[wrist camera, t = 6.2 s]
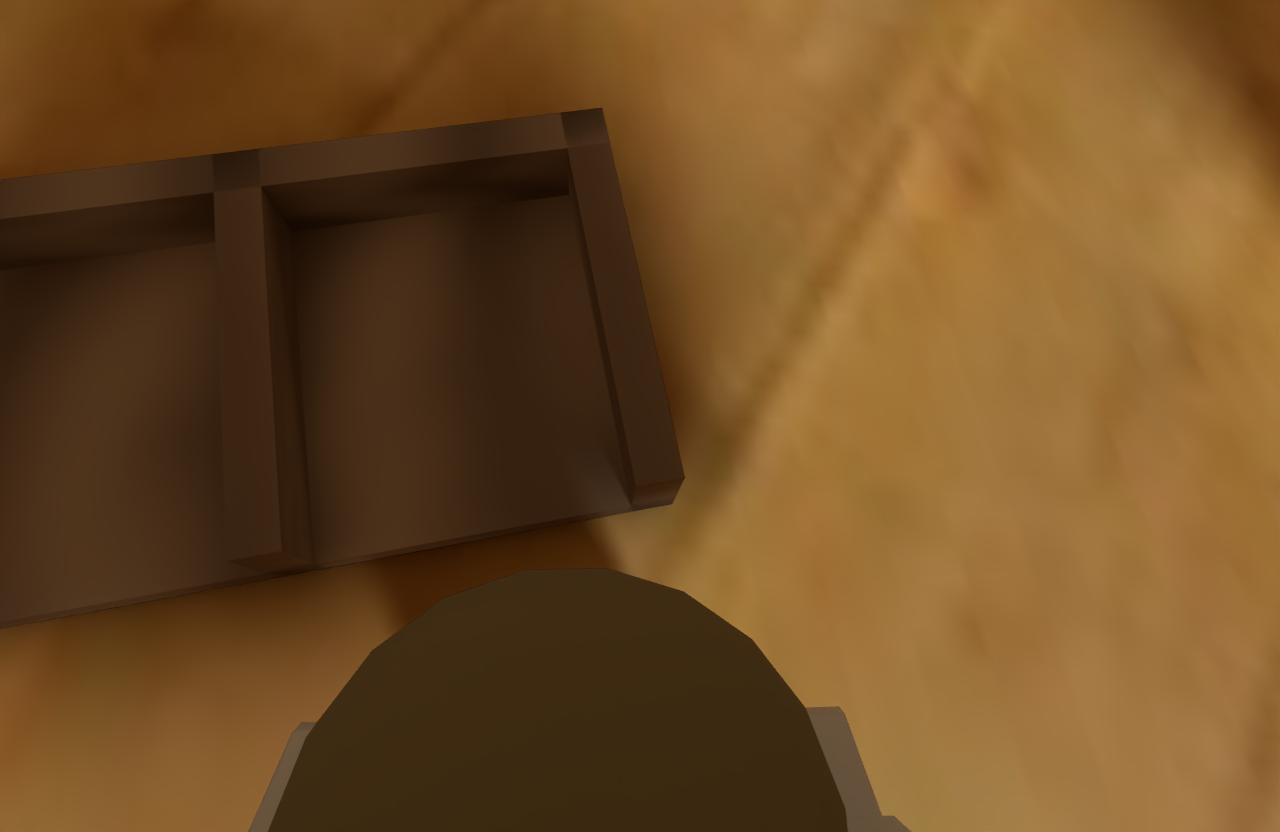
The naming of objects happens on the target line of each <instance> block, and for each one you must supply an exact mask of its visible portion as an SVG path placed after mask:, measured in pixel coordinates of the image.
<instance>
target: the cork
mask: <svg viewBox="0 0 1280 832" xmlns="http://www.w3.org/2000/svg"><path fill="white" fill-rule="evenodd" d="M268 832H848V828H847V818H846V809H845V806H844V804H843V801H842V799H841V796H840V793H839V791H838V788H837V786H836V783H835V781H834V778H833V776H832V773H831V771H830V768H829V766H828V763H827V761H826V758H825V755H824V753H823V750H822V748H821V745H820V743H819V740H818V738H817V735H816V733H815V730H814V728H813V725H812V722H811V720H810V717H809V715H808V712H807V710H806V708H805V707H804V705H803V704H802V703H801V702H800V700H799V699H798V698H797V696H796V695H795V694H794V693H793V691H792V690H791V689H790V687H789V686H788V685H787V684H786V682H785V681H784V680H783V678H782V677H781V676H780V675H779V673H778V672H777V671H776V669H775V668H774V667H773V666H772V664H771V663H770V662H769V660H768V659H767V658H766V657H765V655H764V654H763V653H762V651H761V650H760V649H759V648H758V646H757V645H756V644H755V642H754V641H753V640H752V639H751V638H749V637H748V636H747V635H745V634H744V633H742V632H741V631H739V630H738V629H737V628H735V627H734V626H732V625H731V624H729V623H728V622H727V621H725V620H724V619H722V618H721V617H719V616H718V615H717V614H715V613H714V612H712V611H711V610H709V609H708V608H707V607H705V606H704V605H702V604H701V603H699V602H698V601H696V600H695V599H694V598H692V597H691V596H689V595H688V594H686V593H685V592H683V591H680V590H677V589H674V588H670V587H667V586H664V585H660V584H657V583H654V582H651V581H647V580H644V579H641V578H637V577H634V576H631V575H628V574H624V573H621V572H618V571H614V570H611V569H608V568H582V569H536V570H523V571H520V572H517V573H514V574H511V575H508V576H505V577H502V578H500V579H497V580H494V581H491V582H488V583H485V584H482V585H479V586H476V587H474V588H471V589H468V590H465V591H462V592H459V593H456V594H453V595H450V596H447V597H445V598H443V599H442V600H441V601H439V602H438V603H437V604H435V605H434V606H432V607H431V608H430V609H428V610H427V611H426V612H424V613H423V614H422V615H420V616H419V617H417V618H416V619H415V620H413V621H412V622H411V623H409V624H408V625H406V626H405V627H404V628H402V629H401V630H400V631H398V632H397V633H395V634H394V635H393V636H391V637H390V638H389V639H387V640H386V641H385V642H383V643H382V644H380V645H379V646H378V647H376V648H375V649H374V650H372V652H371V653H370V654H369V656H368V657H367V658H366V659H365V661H364V662H363V663H362V665H361V666H360V667H359V669H358V670H357V671H356V672H355V674H354V675H353V676H352V678H351V679H350V680H349V681H348V683H347V684H346V685H345V687H344V688H343V689H342V691H341V692H340V693H339V694H338V696H337V697H336V698H335V700H334V701H333V702H332V704H331V705H330V706H329V707H328V709H327V710H326V711H325V713H324V714H323V715H322V716H321V718H320V719H319V720H318V722H317V723H316V724H315V726H314V727H313V728H312V730H311V731H310V732H309V734H308V735H307V736H306V738H305V741H304V743H303V746H302V748H301V751H300V753H299V755H298V758H297V760H296V763H295V765H294V768H293V770H292V773H291V775H290V778H289V780H288V783H287V785H286V788H285V790H284V793H283V795H282V798H281V800H280V803H279V805H278V807H277V810H276V812H275V815H274V817H273V820H272V822H271V825H270V827H269V830H268Z"/></svg>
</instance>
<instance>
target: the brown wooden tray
mask: <svg viewBox="0 0 1280 832" xmlns="http://www.w3.org/2000/svg"><path fill="white" fill-rule="evenodd" d="M684 478H685V477H684V472H683V468H682V463H681V459H680V454H679V450H678V445H677V441H676V436H675V432H674V427H673V423H672V418H671V414H670V410H669V405H668V401H667V396H666V392H665V387H664V383H663V378H662V374H661V369H660V365H659V360H658V356H657V351H656V347H655V343H654V338H653V334H652V329H651V325H650V320H649V316H648V311H647V307H646V302H645V298H644V293H643V289H642V284H641V280H640V276H639V271H638V267H637V262H636V258H635V253H634V249H633V244H632V240H631V235H630V231H629V226H628V222H627V217H626V213H625V208H624V204H623V200H622V195H621V191H620V186H619V182H618V177H617V173H616V168H615V164H614V159H613V155H612V150H611V146H610V141H609V137H608V133H607V128H606V124H605V119H604V115H603V110H602V108H596V109H588V110H579V111H571V112H563V113H554V114H546V115H538V116H529V117H521V118H513V119H504V120H496V121H488V122H479V123H471V124H462V125H454V126H446V127H437V128H429V129H421V130H412V131H404V132H396V133H387V134H379V135H371V136H362V137H354V138H346V139H337V140H329V141H320V142H312V143H304V144H295V145H287V146H279V147H270V148H262V149H254V150H245V151H237V152H229V153H220V154H212V155H204V156H195V157H187V158H178V159H170V160H162V161H153V162H145V163H137V164H128V165H120V166H112V167H103V168H95V169H87V170H78V171H70V172H62V173H53V174H45V175H36V176H28V177H20V178H11V179H3V180H0V629H1V628H6V627H12V626H17V625H22V624H28V623H33V622H39V621H44V620H49V619H55V618H60V617H66V616H71V615H76V614H82V613H87V612H93V611H98V610H103V609H109V608H114V607H119V606H125V605H130V604H136V603H141V602H146V601H152V600H157V599H163V598H168V597H173V596H179V595H184V594H189V593H195V592H200V591H206V590H211V589H216V588H222V587H227V586H233V585H238V584H243V583H249V582H254V581H260V580H265V579H270V578H276V577H281V576H286V575H292V574H297V573H303V572H308V571H313V570H319V569H324V568H330V567H335V566H340V565H346V564H351V563H357V562H362V561H367V560H373V559H378V558H383V557H389V556H394V555H400V554H405V553H410V552H416V551H421V550H427V549H432V548H437V547H443V546H448V545H453V544H459V543H464V542H470V541H475V540H480V539H486V538H491V537H497V536H502V535H507V534H513V533H518V532H524V531H529V530H534V529H540V528H545V527H550V526H556V525H561V524H567V523H572V522H577V521H583V520H588V519H594V518H599V517H604V516H610V515H615V514H620V513H626V512H631V511H637V510H642V509H647V508H653V507H658V506H664V505H669V504H672V503H673V501H674V499H675V497H676V495H677V493H678V491H679V488H680V486H681V484H682V482H683V480H684Z"/></svg>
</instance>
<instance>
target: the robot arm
mask: <svg viewBox="0 0 1280 832" xmlns="http://www.w3.org/2000/svg"><path fill="white" fill-rule="evenodd" d="M806 710H807V712H808V715H809V717H810V720H811V722H812V725H813V728H814V730H815V733H816V735H817V738H818V740H819V743H820V745H821V748H822V750H823V753H824V755H825V758H826V761H827V763H828V766H829V768H830V771H831V773H832V776H833V778H834V781H835V783H836V786H837V788H838V791H839V793H840V796H841V799H842V801H843V804H844V806H845V809H846V818H847V828H848V832H911V831H910V830H909V829H908V828H907V827H906V826H904V825H903V824H902V823H901V822H900V821H899V820H898V819H897V818H896V817H895V816H882V814H881V811H880V809H879V806H878V803H877V800H876V798H875V795H874V792H873V790H872V787H871V784H870V781H869V779H868V776H867V773H866V770H865V768H864V765H863V762H862V759H861V757H860V754H859V751H858V749H857V746H856V743H855V740H854V738H853V735H852V732H851V729H850V727H849V724H848V721H847V719H846V716H845V713H844V712H843V711H842V710H841V708H840V707H813V708H806ZM316 723H317V722H302V723H301V724H300V725H299V726H298V727H297V728H296V729H295V730H294V732H293V733H292V734H291V736H290V739H289V741H288V743H287V745H286V748H285V750H284V752H283V754H282V757H281V759H280V761H279V764H278V766H277V768H276V770H275V773H274V775H273V777H272V779H271V782H270V784H269V786H268V788H267V791H266V793H265V795H264V797H263V800H262V802H261V804H260V806H259V809H258V811H257V813H256V816H255V818H254V820H253V822H252V825H251V827H250V829H249V831H248V832H268V830H269V827H270V825H271V822H272V820H273V817H274V815H275V812H276V810H277V807H278V805H279V803H280V800H281V798H282V795H283V793H284V790H285V788H286V785H287V783H288V780H289V778H290V775H291V773H292V770H293V768H294V765H295V763H296V760H297V758H298V755H299V753H300V751H301V748H302V746H303V743H304V741H305V738H306V736H307V735H308V734H309V732H310V731H311V730H312V728H313V727H314V726H315V724H316Z"/></svg>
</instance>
